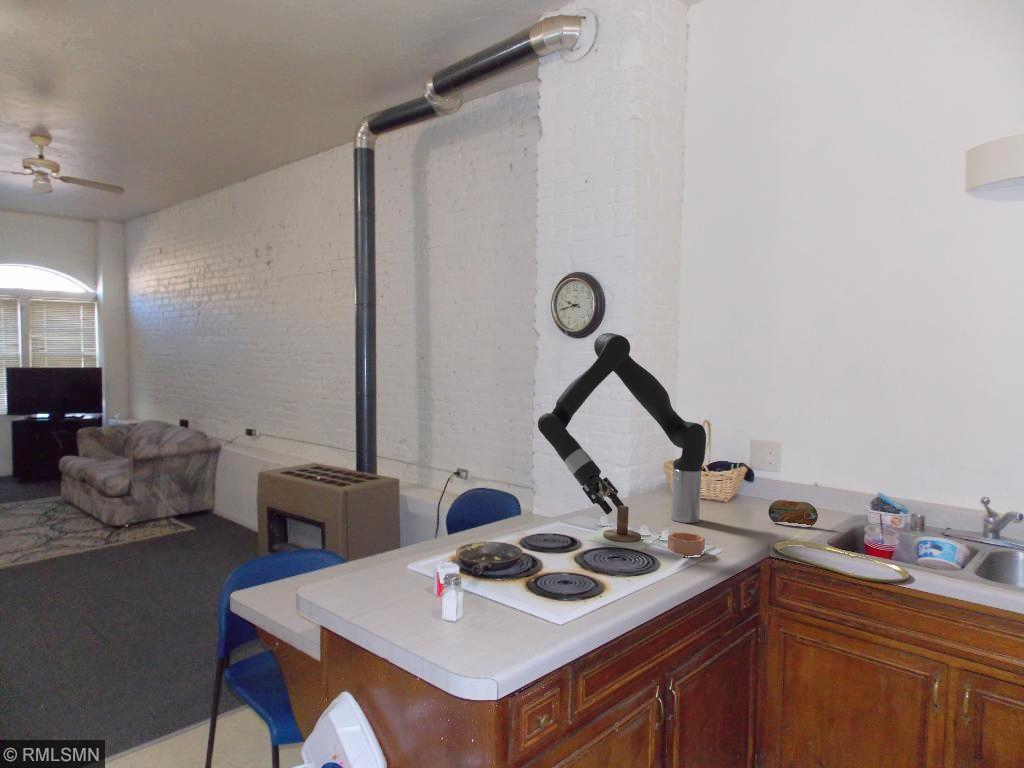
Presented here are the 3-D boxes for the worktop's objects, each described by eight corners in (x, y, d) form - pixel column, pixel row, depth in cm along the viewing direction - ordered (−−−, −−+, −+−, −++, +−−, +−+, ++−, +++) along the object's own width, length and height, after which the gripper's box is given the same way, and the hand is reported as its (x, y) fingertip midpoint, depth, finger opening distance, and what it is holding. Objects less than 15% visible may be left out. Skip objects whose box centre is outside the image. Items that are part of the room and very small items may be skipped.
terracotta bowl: (674, 546, 183) (675, 530, 183) (707, 552, 178) (707, 536, 178) (664, 553, 176) (664, 537, 175) (697, 560, 171) (698, 543, 171)
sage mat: (606, 529, 200) (606, 526, 200) (661, 539, 190) (662, 536, 190) (580, 541, 184) (580, 538, 184) (639, 553, 175) (639, 550, 175)
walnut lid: (612, 530, 195) (613, 501, 195) (646, 536, 189) (647, 506, 189) (597, 538, 185) (598, 507, 185) (632, 544, 180) (633, 512, 179)
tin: (767, 523, 215) (769, 498, 214) (767, 521, 218) (769, 497, 217) (817, 529, 209) (818, 504, 209) (816, 527, 212) (817, 502, 212)
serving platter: (883, 590, 153) (883, 583, 153) (759, 550, 183) (760, 545, 183) (924, 578, 163) (924, 572, 163) (800, 543, 193) (800, 538, 193)
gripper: (580, 462, 186) (615, 506, 181) (600, 456, 198) (633, 498, 193) (563, 477, 189) (597, 522, 184) (584, 471, 201) (616, 513, 196)
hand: (615, 510), depth 188 cm, fingers open, 8 cm apart
